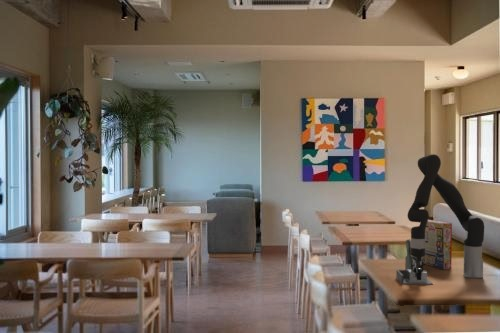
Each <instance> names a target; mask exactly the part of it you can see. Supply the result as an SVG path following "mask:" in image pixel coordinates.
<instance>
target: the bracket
mask: <svg viewBox="0 0 500 333" xmlns="http://www.w3.org/2000/svg"><path fill="white" fill-rule="evenodd" d="M410 242H411V238H408V239H407V240H405V242H404V243H405V249H406V255H405V257H404V258H405V262H404V263H405V264H404V266H405V267H404V268H405V269H404V270H407V269H411V270H414V269H413V267H412V256H411V255H410Z"/></svg>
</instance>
